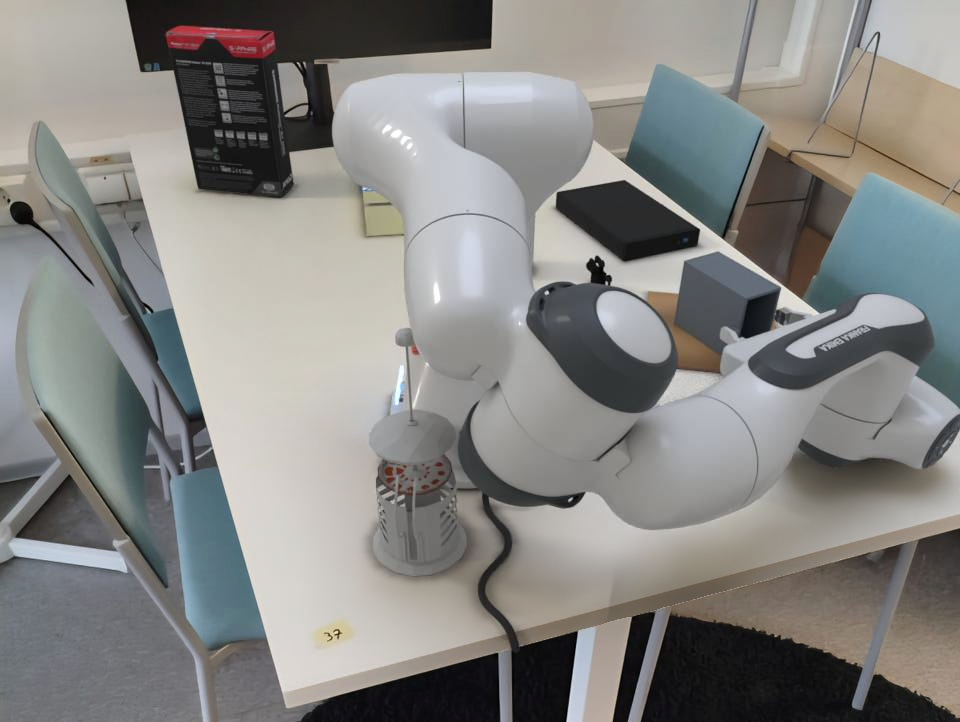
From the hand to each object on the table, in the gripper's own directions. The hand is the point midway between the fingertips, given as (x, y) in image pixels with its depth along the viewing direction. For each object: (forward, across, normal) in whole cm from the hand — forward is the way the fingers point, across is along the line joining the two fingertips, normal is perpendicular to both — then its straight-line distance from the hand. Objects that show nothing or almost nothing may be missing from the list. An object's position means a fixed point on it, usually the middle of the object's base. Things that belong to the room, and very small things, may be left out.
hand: (752, 321), depth 112 cm
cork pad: (+7, 0, -6) cm, 9 cm away
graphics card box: (+90, -40, -6) cm, 98 cm away
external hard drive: (+42, +11, -6) cm, 44 cm away
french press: (-11, -54, -6) cm, 55 cm away
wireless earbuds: (+26, -6, -6) cm, 27 cm away
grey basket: (+5, 0, -5) cm, 7 cm away
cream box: (+78, -14, -6) cm, 80 cm away
